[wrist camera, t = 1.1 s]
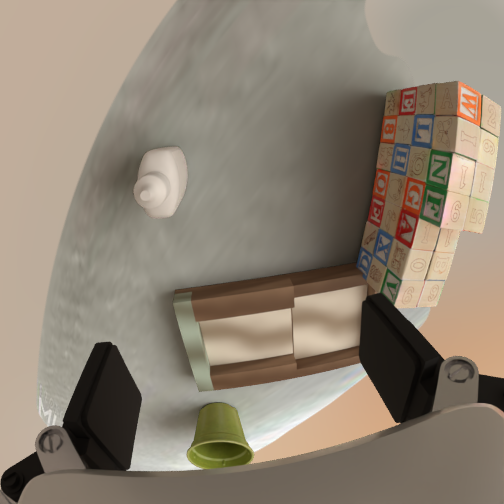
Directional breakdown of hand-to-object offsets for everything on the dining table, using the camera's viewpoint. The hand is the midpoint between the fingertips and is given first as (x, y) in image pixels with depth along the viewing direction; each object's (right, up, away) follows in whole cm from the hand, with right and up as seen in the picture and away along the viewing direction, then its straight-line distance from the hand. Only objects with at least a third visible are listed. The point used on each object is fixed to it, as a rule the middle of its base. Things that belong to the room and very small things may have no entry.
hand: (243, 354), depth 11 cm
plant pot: (-5, -22, +33) cm, 39 cm away
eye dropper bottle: (-8, +12, +19) cm, 24 cm away
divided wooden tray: (+4, -5, +27) cm, 28 cm away
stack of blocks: (+17, +11, +21) cm, 29 cm away
